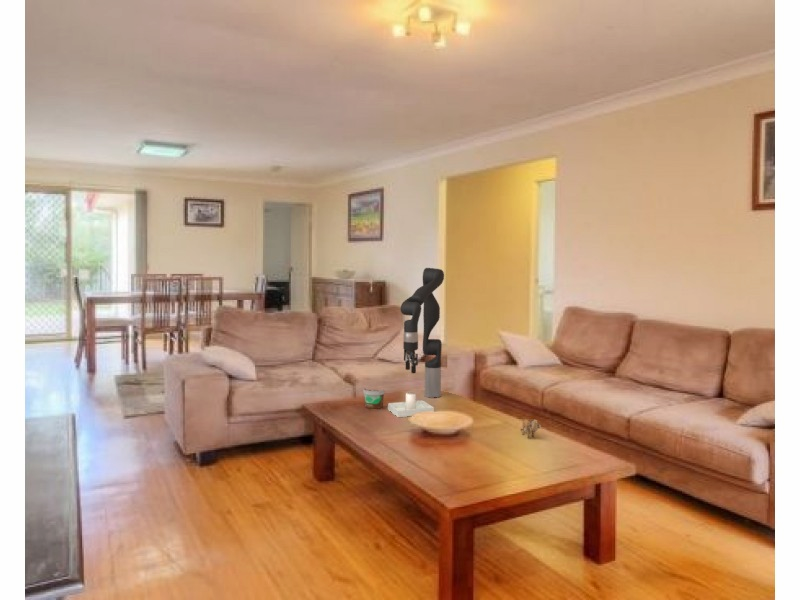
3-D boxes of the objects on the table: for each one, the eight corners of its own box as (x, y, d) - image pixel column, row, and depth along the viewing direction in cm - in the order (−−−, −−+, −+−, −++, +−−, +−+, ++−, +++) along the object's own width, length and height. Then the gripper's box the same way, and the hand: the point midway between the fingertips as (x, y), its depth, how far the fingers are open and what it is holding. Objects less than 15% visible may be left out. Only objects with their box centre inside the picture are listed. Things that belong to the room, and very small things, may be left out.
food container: (359, 408, 295) (359, 390, 294) (364, 405, 301) (364, 387, 300) (380, 411, 290) (380, 392, 290) (385, 408, 296) (385, 389, 295)
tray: (388, 409, 293) (388, 403, 293) (422, 406, 300) (422, 400, 300) (397, 417, 279) (398, 411, 278) (433, 414, 285) (434, 407, 285)
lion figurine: (542, 440, 245) (542, 420, 244) (531, 441, 244) (531, 421, 243) (525, 430, 259) (525, 411, 258) (515, 431, 258) (515, 412, 257)
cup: (404, 409, 291) (404, 392, 290) (413, 408, 293) (413, 391, 292) (407, 412, 286) (407, 395, 285) (417, 411, 288) (417, 394, 287)
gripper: (399, 338, 292) (399, 369, 293) (408, 342, 278) (408, 374, 280) (412, 338, 294) (412, 368, 295) (422, 342, 281) (422, 373, 282)
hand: (410, 371), depth 288 cm, fingers open, 8 cm apart
